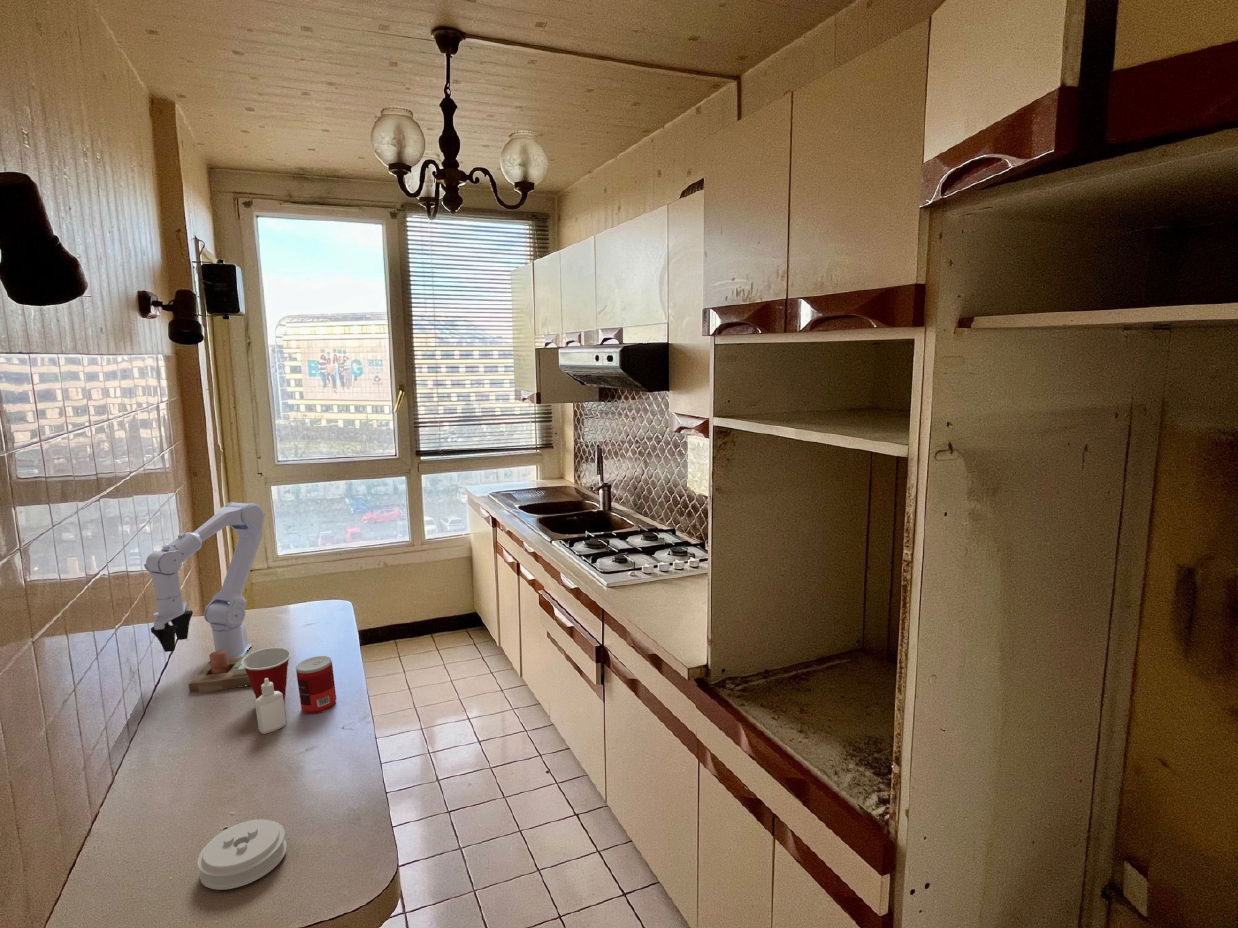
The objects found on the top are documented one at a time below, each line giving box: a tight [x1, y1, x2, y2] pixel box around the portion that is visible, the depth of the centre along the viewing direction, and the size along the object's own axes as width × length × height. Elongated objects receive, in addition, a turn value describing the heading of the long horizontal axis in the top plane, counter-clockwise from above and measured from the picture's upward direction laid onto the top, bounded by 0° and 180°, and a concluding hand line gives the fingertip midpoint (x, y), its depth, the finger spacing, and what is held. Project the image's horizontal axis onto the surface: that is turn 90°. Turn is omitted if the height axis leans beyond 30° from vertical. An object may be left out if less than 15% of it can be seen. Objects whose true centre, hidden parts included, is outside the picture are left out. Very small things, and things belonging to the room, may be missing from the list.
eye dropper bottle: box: [254, 678, 288, 735], centre depth 155 cm, size 4×6×12 cm
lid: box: [197, 819, 288, 891], centre depth 113 cm, size 13×13×5 cm
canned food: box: [295, 655, 337, 715], centre depth 164 cm, size 8×8×11 cm
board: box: [188, 657, 251, 694], centre depth 183 cm, size 14×18×2 cm
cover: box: [233, 652, 251, 675], centre depth 184 cm, size 10×9×2 cm
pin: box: [209, 650, 230, 674], centre depth 182 cm, size 4×4×7 cm
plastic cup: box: [241, 646, 292, 700], centre depth 167 cm, size 11×11×12 cm
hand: (176, 644), depth 182 cm, fingers open, 7 cm apart
